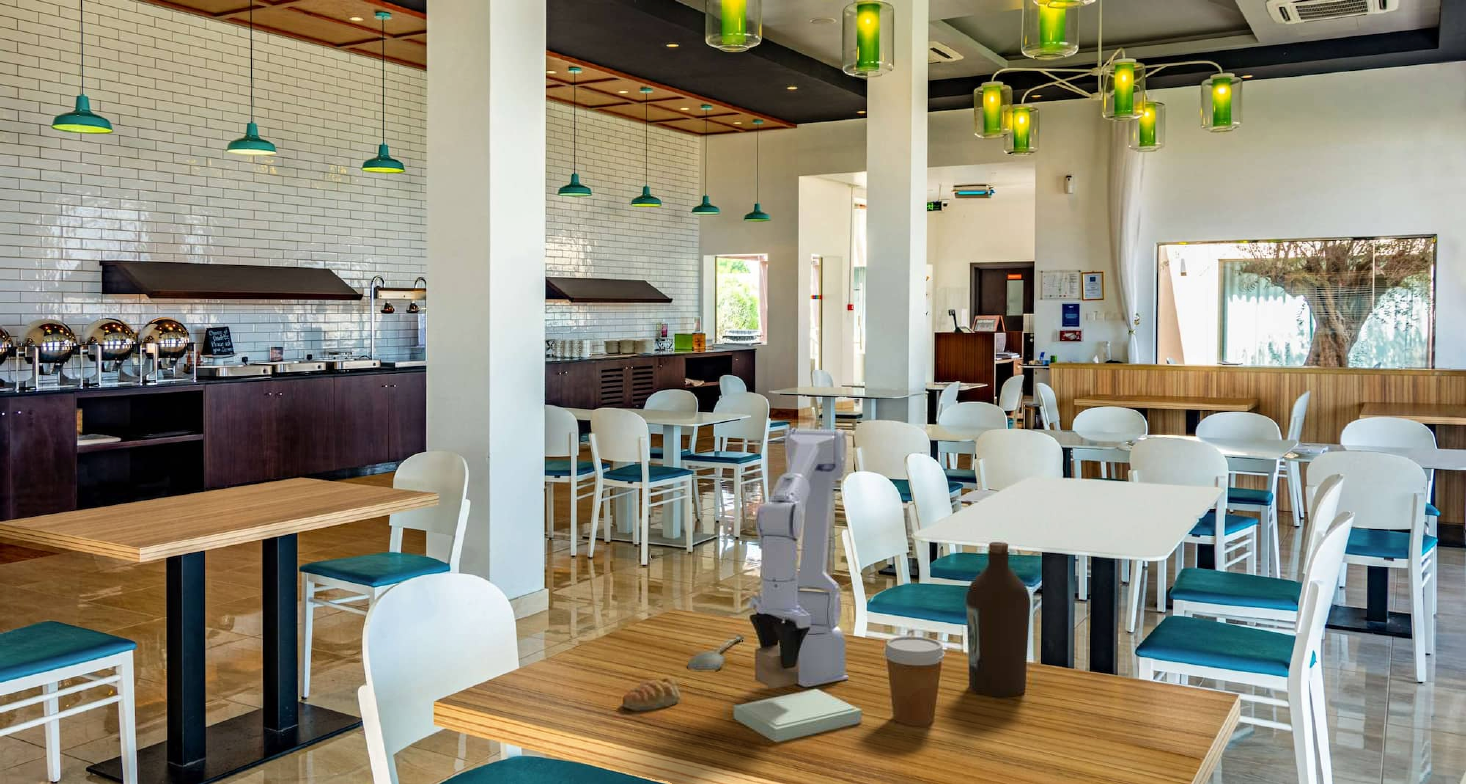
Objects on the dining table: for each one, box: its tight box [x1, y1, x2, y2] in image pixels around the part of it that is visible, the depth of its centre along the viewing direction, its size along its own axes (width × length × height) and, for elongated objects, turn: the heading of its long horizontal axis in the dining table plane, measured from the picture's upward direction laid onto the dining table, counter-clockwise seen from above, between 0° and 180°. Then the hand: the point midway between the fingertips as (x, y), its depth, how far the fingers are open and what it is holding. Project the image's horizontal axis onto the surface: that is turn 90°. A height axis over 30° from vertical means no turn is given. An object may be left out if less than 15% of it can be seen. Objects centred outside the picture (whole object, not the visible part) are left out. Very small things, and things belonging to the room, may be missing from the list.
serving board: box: [733, 688, 863, 743], centre depth 168 cm, size 16×12×2 cm
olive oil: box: [965, 541, 1031, 698], centre depth 183 cm, size 11×11×25 cm
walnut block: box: [754, 644, 799, 690], centre depth 170 cm, size 5×5×5 cm
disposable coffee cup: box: [883, 635, 946, 727], centre depth 168 cm, size 10×10×12 cm
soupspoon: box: [687, 634, 745, 671], centre depth 203 cm, size 22×3×7 cm
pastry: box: [621, 677, 681, 712], centre depth 176 cm, size 9×7×4 cm
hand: (779, 662), depth 170 cm, fingers closed on walnut block, 5 cm apart
